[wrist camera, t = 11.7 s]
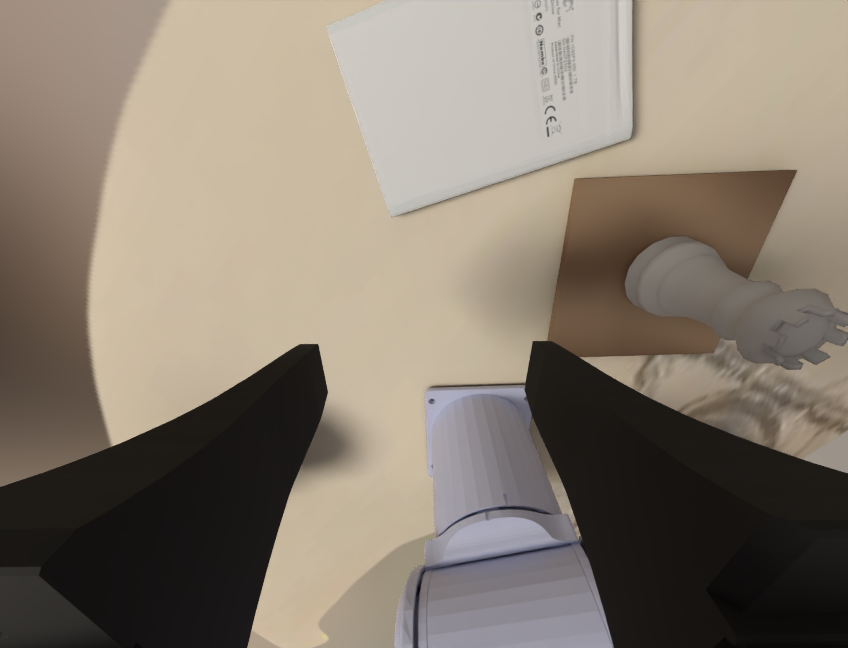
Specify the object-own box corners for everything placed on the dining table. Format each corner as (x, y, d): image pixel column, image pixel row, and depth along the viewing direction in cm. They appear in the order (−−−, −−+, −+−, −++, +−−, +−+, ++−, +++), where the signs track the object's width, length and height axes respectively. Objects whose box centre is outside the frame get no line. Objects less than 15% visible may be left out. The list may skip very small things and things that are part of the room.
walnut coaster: (705, 348, 21) (713, 353, 21) (545, 353, 21) (548, 358, 21) (784, 170, 16) (797, 170, 16) (574, 178, 16) (579, 179, 16)
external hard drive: (334, 37, 14) (611, -80, 13) (393, 214, 18) (616, 141, 16) (323, 22, 13) (635, -112, 11) (390, 218, 16) (635, 139, 15)
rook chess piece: (633, 320, 20) (754, 407, 12) (608, 264, 18) (731, 327, 11) (708, 281, 18) (889, 353, 11) (689, 217, 17) (886, 254, 10)
